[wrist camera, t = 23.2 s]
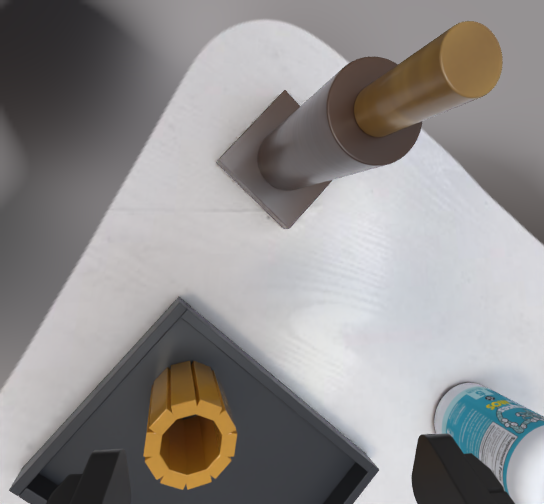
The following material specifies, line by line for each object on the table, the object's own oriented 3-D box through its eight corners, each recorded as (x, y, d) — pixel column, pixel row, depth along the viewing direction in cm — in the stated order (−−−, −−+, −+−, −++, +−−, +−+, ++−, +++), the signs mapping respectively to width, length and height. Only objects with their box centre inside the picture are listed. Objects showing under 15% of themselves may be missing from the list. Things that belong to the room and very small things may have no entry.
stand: (216, 162, 32) (305, 45, 11) (280, 95, 33) (474, -132, 12) (284, 228, 34) (471, 236, 13) (342, 163, 35) (606, 70, 14)
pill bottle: (501, 392, 41) (654, 469, 28) (475, 458, 41) (616, 566, 28) (447, 370, 40) (583, 442, 26) (419, 438, 39) (543, 545, 26)
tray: (21, 468, 30) (8, 490, 28) (178, 296, 32) (179, 302, 30) (243, 608, 36) (248, 637, 33) (365, 453, 38) (379, 469, 35)
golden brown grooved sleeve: (133, 402, 31) (122, 456, 24) (186, 346, 32) (191, 381, 25) (187, 444, 33) (192, 506, 26) (236, 389, 34) (255, 434, 26)
